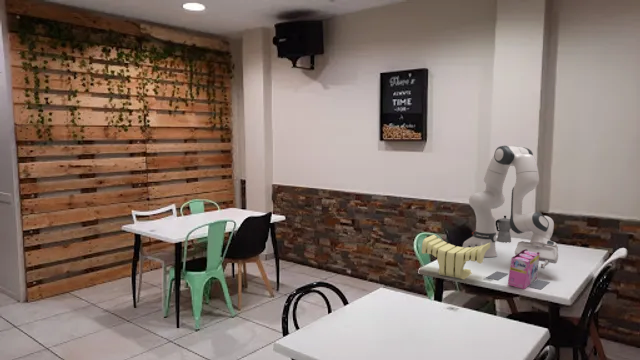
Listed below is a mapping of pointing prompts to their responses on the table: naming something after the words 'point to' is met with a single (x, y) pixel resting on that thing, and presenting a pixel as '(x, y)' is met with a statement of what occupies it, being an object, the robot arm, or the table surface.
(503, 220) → the coffeepot
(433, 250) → the slatted curved stool
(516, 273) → the gum box
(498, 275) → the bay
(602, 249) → the table surface
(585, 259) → the table surface
